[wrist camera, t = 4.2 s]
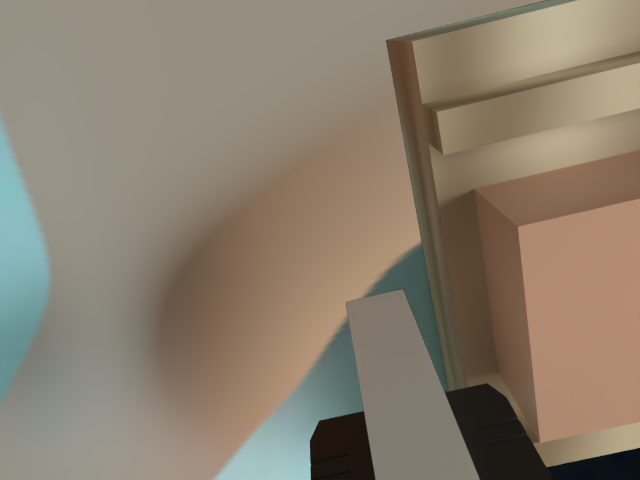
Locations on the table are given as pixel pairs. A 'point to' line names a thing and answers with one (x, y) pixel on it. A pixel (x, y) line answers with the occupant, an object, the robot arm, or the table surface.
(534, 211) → the terracotta tile
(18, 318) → the table surface
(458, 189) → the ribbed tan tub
